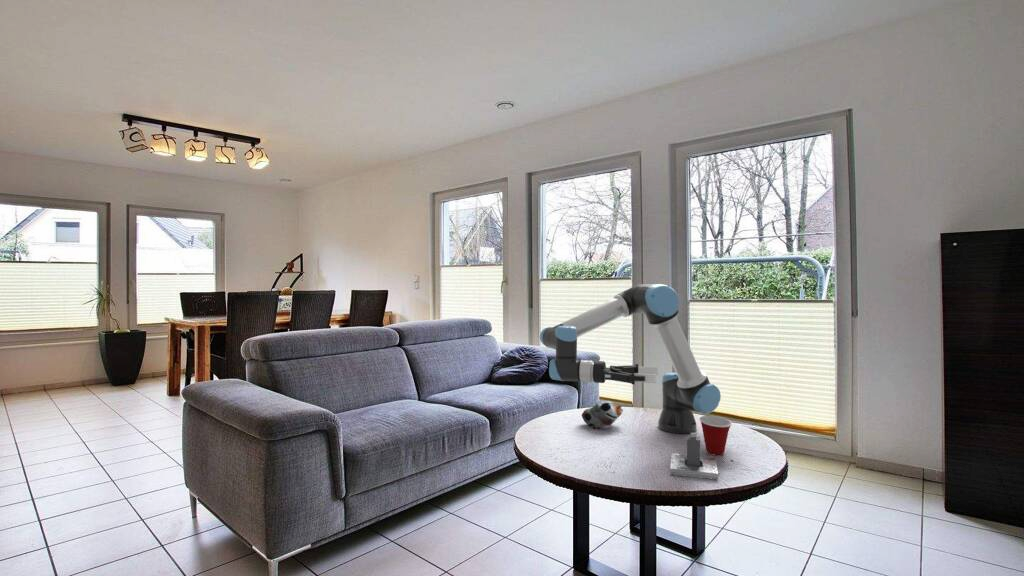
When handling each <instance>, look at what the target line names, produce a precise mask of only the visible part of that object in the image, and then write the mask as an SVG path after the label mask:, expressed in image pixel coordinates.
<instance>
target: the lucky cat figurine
mask: <svg viewBox="0 0 1024 576" xmlns="http://www.w3.org/2000/svg"><path fill="white" fill-rule="evenodd" d="M623 411H624V409H623V408H622V405H616V404H615V403H614V402H613V401H610V400H602V401H599V402H596V403H595V405H593V406H592V407H590V408H586V409H585V410H584V411H583V412H582V413H581V418H582V420H583V422H584V423H585V424H586V425H587V426H588V427H592V429H593V430H596V429H603V430H608V429H609V428H610V427H611V426H612V424H614V423H615V421H616V420H618V418H619V417H620V416H621V415H622V414H623Z"/></svg>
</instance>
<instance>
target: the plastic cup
mask: <svg viewBox="0 0 1024 576" xmlns="http://www.w3.org/2000/svg"><path fill="white" fill-rule="evenodd" d="M699 421H700V424H701V428H702V435H703V442H704V444H705V445H704V446H705V451H706V453H707V452H708V453H707V454H709V453H710V454H709V455H711V454H715V455H714V456H723V455H725V449H726V446H727V442H728V441H727V440H728V436H729V431H730V428H731V426H732V425H733V421H731V419H728V418H725V417H721V416H715V415H702V416H700V417H699ZM722 454H723V455H722Z"/></svg>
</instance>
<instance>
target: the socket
mask: <svg viewBox="0 0 1024 576" xmlns="http://www.w3.org/2000/svg"><path fill="white" fill-rule="evenodd" d="M670 456H671V457H670V475H671V474H674V475H673V476H678V475H682V476H681V477H687V476H691V477H690V478H696V477H702V478H701V479H705V478H712V479H711V480H714V479H718V480H719V472H718V465H717V462H716V461H717V459H716V457H706V456H700V467H697V466H688V465H687V454H681V453H676V452H674V453H671V455H670Z"/></svg>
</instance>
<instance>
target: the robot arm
mask: <svg viewBox="0 0 1024 576" xmlns="http://www.w3.org/2000/svg"><path fill="white" fill-rule="evenodd" d="M679 304H680V298H679V295H678V293H677V292H676V290H675V289H674V288H672V287H671V286H669V285H666V284H662V283H654V284H649V283H647V284H646V283H641V284H637V285H634V286H632V287H629V288H628V289H626V290H624V291H622V292H619V293H617V294H615V295H614V297H613V298H612V299H611V300H608V301H607V302H604V303H602V304H599V305H598V306H596V307H594V308H591V309H590V310H587V311H585V312H582V313H580V314H579V315H577V316H574V317H571V318H570V319H568V320H566V321H563V322H561V323H559V324H556V325H555V326H548V327H544V328H543V329H542V330H541V331H540V334H539V340H540V342H541V343H542V345H543V346H545V347H546V348H548V349H552V350H555V358H551V359H550V361H549V368H548V372H549V373H548V374H549V377H550V378H551V380H553V381H554V380H555V381H561V382H582V383H584V384H587V383H593V382H594V383H595V384H596V383H597V384H605V382H606V381H607V380H608V381H615V382H620V383H627V384H631V385H635V383H643V384H644V383H646V384H647V383H648V384H657V383H656V382H657V381H656V379H657V376H659V373H658V371H659V370H658V369H659V367H658V366H641V365H640V366H639V363H635V364H634V365H633V364H632V365H609V367H607V365H606V362H605V361H604V360H595V361H593V360H590V359H589V360H588V359H587V360H585V359H578V353H577V352H578V338H579V337H581V336H583V335H585V334H588V333H590V332H592V331H594V330H596V329H599V328H600V327H603V326H605V325H607V324H609V323H611V322H613V321H615V320H617V319H620V318H621V317H622V318H627V317H629V316H632V315H637V314H642V315H643V314H644V315H645V317H646V320H647V321H648V323H649V325H650V326H654V327H655V329H656V331H657V334H658V335H659V338H660V341H661V343H662V345H663V348H664V349H665V351H666V354H667V356H668V357H669V360H670V362H671V365H672V367H673V369H674V371H675V372H667V373H664V374H663V375H662V380H661V381H662V382H661V384H662V409H661V412H660V414H659V418H658V421H657V424H658V425H657V426H658V428H659V430H662V431H664V432H668V433H674V434H690V433H696V431H697V421H696V419H695V416H694V412H696V413H698V414H699V413H700V414H703V415H704V414H705V415H707V414H711V413H713V412H714V411H715V410H716V409H717V408H718V407H719V405H720V401H721V398H722V397H721V390H720V389H719V388H718V387H717V386H716V385H715V384H713V383H711V382H710V380H709V378H708V375H707V374H706V372H704V371H702V370H700V367H699V365H698V362H697V359H696V358H695V357H694V356H695V355H694V353H693V351H692V349H691V347H690V345H689V343H688V340H687V338H686V336H685V333H684V331H683V329H682V326H681V324H680V322H679V319H678V316H679V313H680V312H679V311H680V310H679V307H680V306H679ZM693 411H694V412H693Z"/></svg>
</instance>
